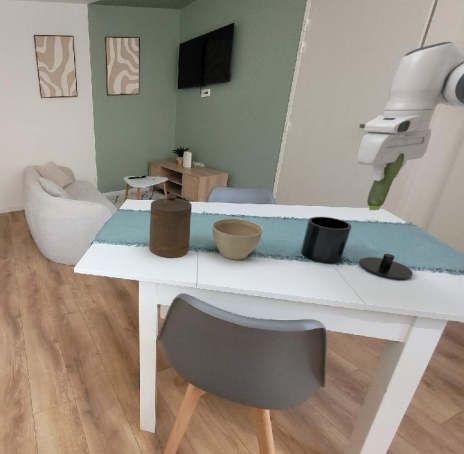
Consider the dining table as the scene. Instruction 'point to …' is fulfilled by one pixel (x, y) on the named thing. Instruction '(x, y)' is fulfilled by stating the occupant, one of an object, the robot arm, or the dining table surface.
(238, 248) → the planter bowl
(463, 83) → the robot arm
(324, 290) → the dining table surface
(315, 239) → the trash can
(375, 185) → the vegetable
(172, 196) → the wooden container
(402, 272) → the bin lid
